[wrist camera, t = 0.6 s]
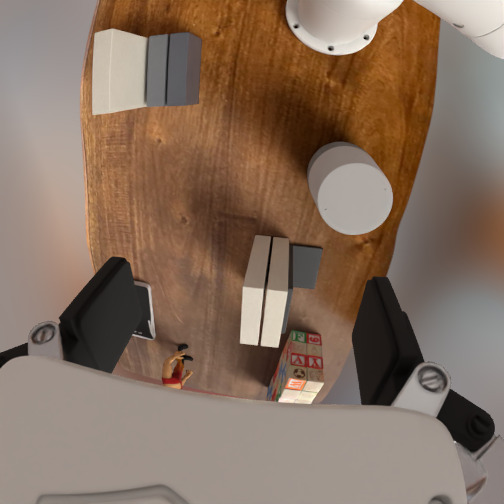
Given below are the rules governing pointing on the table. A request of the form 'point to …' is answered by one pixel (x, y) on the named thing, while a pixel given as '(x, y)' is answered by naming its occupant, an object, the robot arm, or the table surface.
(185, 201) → the table surface
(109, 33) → the cream book
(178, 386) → the action figure
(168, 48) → the grey books
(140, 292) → the smartphone
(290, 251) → the white books
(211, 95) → the table surface
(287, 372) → the stack of blocks
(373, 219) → the smart speaker
